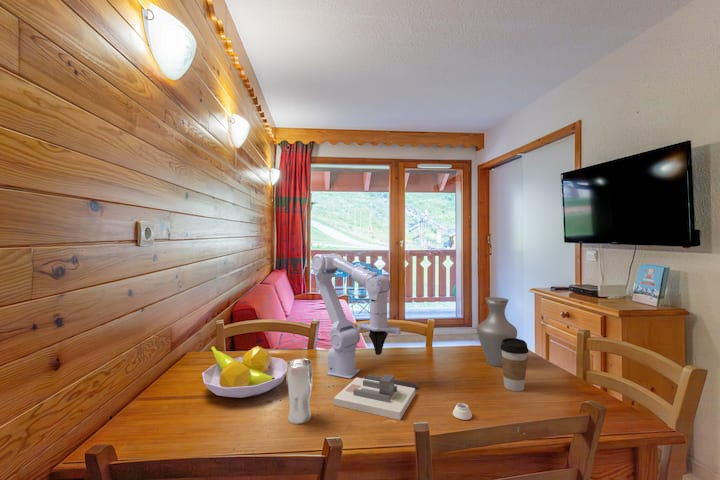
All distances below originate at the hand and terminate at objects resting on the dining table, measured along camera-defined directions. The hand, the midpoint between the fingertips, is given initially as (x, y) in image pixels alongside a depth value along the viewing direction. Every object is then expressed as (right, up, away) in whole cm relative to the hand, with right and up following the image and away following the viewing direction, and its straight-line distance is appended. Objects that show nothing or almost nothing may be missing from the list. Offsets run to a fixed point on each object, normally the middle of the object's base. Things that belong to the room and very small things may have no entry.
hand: (378, 353), depth 113 cm
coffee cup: (+44, -11, -1) cm, 45 cm away
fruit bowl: (-44, -11, -1) cm, 45 cm away
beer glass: (-22, -11, -20) cm, 32 cm away
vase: (+46, -10, +19) cm, 51 cm away
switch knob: (+2, -8, -11) cm, 14 cm away
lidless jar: (+22, -11, -19) cm, 31 cm away
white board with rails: (0, -10, -7) cm, 13 cm away
